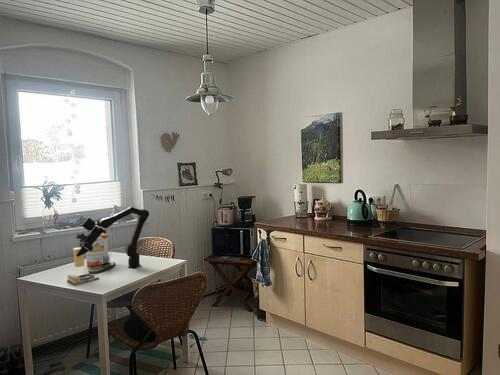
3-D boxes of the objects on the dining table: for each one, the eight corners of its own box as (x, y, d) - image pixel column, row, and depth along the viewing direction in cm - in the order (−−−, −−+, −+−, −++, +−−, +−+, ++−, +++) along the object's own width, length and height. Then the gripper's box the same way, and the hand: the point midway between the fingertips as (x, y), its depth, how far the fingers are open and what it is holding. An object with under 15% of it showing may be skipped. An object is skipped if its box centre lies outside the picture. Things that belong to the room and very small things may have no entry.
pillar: (83, 264, 234) (82, 246, 233) (84, 265, 230) (83, 248, 229) (74, 265, 231) (73, 248, 230) (75, 267, 227) (74, 249, 226)
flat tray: (90, 275, 232) (89, 269, 232) (99, 279, 224) (98, 272, 224) (67, 281, 222) (66, 274, 221) (75, 285, 214) (75, 278, 213)
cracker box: (86, 266, 253) (84, 236, 251) (87, 264, 258) (85, 235, 257) (108, 264, 258) (106, 234, 256) (108, 262, 263) (106, 232, 262)
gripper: (81, 225, 239) (63, 245, 234) (85, 229, 223) (66, 250, 218) (95, 236, 243) (78, 255, 238) (100, 240, 227) (82, 261, 223)
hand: (76, 255), depth 229 cm, fingers closed on pillar, 5 cm apart
